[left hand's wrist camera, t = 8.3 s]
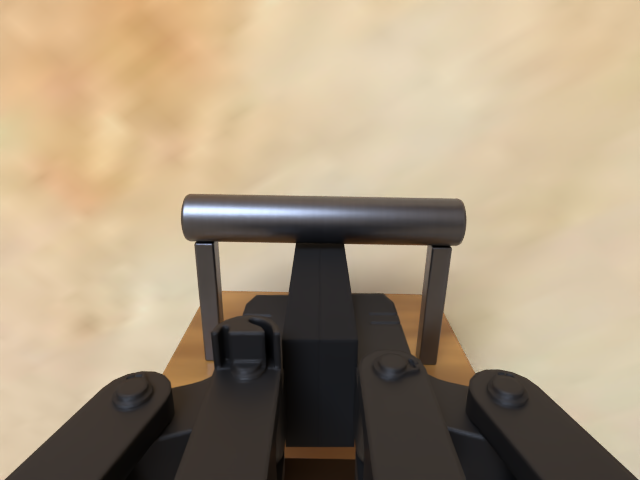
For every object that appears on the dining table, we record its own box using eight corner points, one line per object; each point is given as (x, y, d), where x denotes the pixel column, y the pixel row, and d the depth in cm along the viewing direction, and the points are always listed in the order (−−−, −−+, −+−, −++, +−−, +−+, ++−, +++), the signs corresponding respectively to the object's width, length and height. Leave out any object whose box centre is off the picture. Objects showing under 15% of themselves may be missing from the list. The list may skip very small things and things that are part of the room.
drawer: (197, 164, 17) (101, 227, 10) (450, 168, 17) (547, 235, 10) (227, 523, 24) (185, 718, 17) (405, 527, 24) (442, 723, 17)
